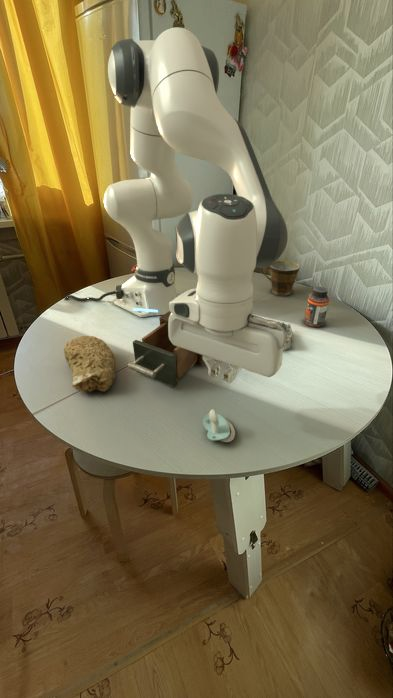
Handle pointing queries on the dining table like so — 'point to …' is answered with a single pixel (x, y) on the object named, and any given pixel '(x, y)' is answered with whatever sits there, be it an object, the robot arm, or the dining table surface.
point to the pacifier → (218, 427)
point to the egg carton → (288, 335)
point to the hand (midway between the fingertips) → (221, 377)
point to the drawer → (161, 357)
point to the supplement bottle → (317, 307)
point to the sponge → (90, 363)
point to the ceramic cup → (282, 276)
